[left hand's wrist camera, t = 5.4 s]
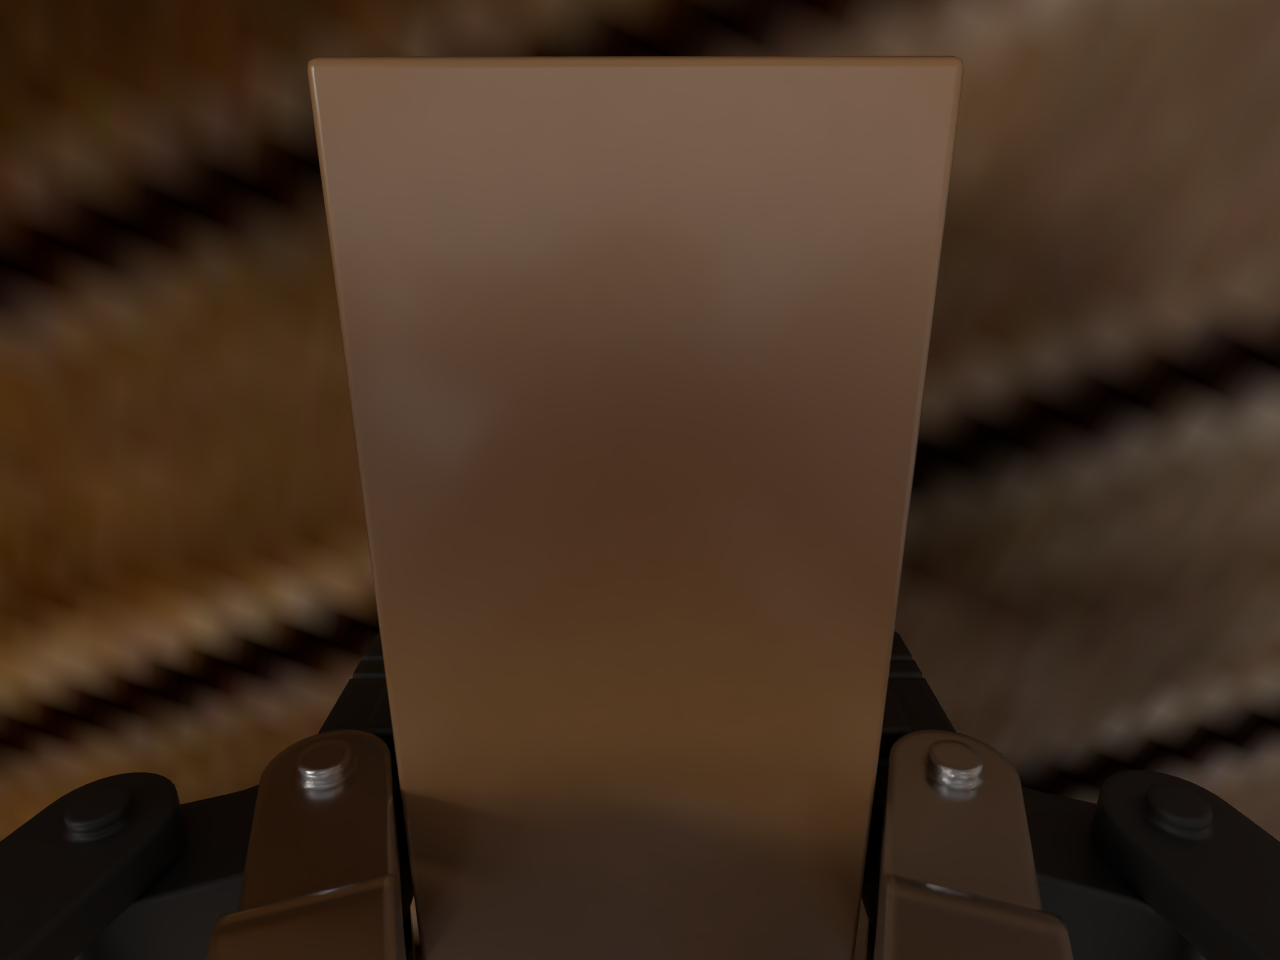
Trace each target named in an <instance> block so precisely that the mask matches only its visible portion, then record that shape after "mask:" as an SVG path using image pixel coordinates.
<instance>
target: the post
mask: <svg viewBox="0 0 1280 960" xmlns="http://www.w3.org/2000/svg"><path fill="white" fill-rule="evenodd" d="M307 71H308V79H309V87H310V95H311V102H312V110H313V118H314V125H315V133H316V141H317V149H318V156H319V164H320V172H321V180H322V187H323V195H324V203H325V211H326V218H327V226H328V234H329V241H330V249H331V257H332V265H333V272H334V280H335V288H336V296H337V303H338V311H339V319H340V326H341V334H342V342H343V350H344V357H345V365H346V373H347V381H348V388H349V396H350V404H351V412H352V419H353V427H354V435H355V442H356V450H357V458H358V466H359V473H360V481H361V489H362V497H363V504H364V512H365V520H366V528H367V535H368V543H369V551H370V558H371V566H372V574H373V582H374V589H375V597H376V605H377V613H378V620H379V628H380V636H381V643H382V651H383V659H384V667H385V674H386V682H387V690H388V698H389V705H390V713H391V721H392V729H393V736H394V744H395V752H396V759H397V767H398V775H399V783H400V790H401V798H402V806H403V814H404V821H405V829H406V837H407V844H408V852H409V860H410V868H411V875H412V883H413V891H414V899H415V906H416V914H417V922H418V930H419V937H420V945H421V953H422V960H854V952H855V944H856V936H857V928H858V920H859V912H860V904H861V896H862V887H863V879H864V871H865V863H866V855H867V847H868V839H869V831H870V823H871V815H872V807H873V799H874V790H875V782H876V774H877V766H878V758H879V750H880V742H881V734H882V726H883V718H884V710H885V702H886V694H887V685H888V677H889V669H890V661H891V653H892V645H893V637H894V629H895V621H896V613H897V605H898V597H899V588H900V580H901V572H902V564H903V556H904V548H905V540H906V532H907V524H908V516H909V508H910V500H911V491H912V483H913V475H914V467H915V459H916V451H917V443H918V435H919V427H920V419H921V411H922V403H923V394H924V386H925V378H926V370H927V362H928V354H929V346H930V338H931V330H932V322H933V314H934V306H935V298H936V289H937V281H938V273H939V265H940V257H941V249H942V241H943V233H944V225H945V217H946V209H947V201H948V192H949V184H950V176H951V168H952V160H953V152H954V144H955V136H956V128H957V120H958V112H959V104H960V95H961V87H962V79H963V71H964V68H963V62H962V60H961V59H958V58H956V57H954V56H597V57H316V58H314V59H312V60H310V61H309V63H308V69H307Z"/></svg>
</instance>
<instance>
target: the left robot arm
mask: <svg viewBox="0 0 1280 960" xmlns="http://www.w3.org/2000/svg"><path fill="white" fill-rule="evenodd" d="M413 896H414V891H413V883H412V875H411V868H410V860H409V852H408V844H407V837H406V829H405V821H404V814H403V806H402V798H401V790H400V783H399V775H398V767H397V759H396V752H395V744H394V736H393V729H392V721H391V713H390V705H389V698H388V690H387V682H386V674H385V667H384V659H383V651H382V643H381V636H380V633H379V634H377V635H376V636H375V638H374V640H373V641H372V643H371V645H370V646H369V648H368V650H367V651H366V653H365V655H364V657H363V661H361V662H360V663H359V665H358V667H357V668H356V670H355V672H354V673H353V679H350V680H349V682H348V684H347V685H346V687H345V689H344V690H343V692H342V694H341V695H340V697H339V699H338V701H337V702H336V704H335V706H334V707H333V709H332V711H331V712H330V714H329V716H328V717H327V719H326V721H325V723H324V724H323V726H322V728H321V729H320V731H319V733H318V734H317V735H314V736H311V737H308V738H305V739H303V740H301V741H299V742H297V743H295V744H293V745H291V746H289V747H288V748H286V749H285V750H283V751H282V752H281V753H279V754H278V755H277V756H276V757H275V758H274V759H273V760H272V761H271V762H270V763H269V764H268V766H267V767H266V768H265V770H264V772H263V773H262V776H261V779H260V782H259V785H257V786H254V787H251V788H249V789H246V790H242V791H239V792H235V793H231V794H226V795H222V796H217V797H213V798H208V799H204V800H199V801H195V802H190V803H186V804H181V805H180V802H179V798H178V794H177V790H176V788H175V785H174V784H173V783H172V782H171V781H170V780H169V779H167V778H165V777H164V776H161V775H158V774H153V773H144V772H135V773H126V774H120V775H115V776H110V777H107V778H103V779H100V780H97V781H94V782H92V783H89V784H86V785H84V786H82V787H80V788H78V789H75V790H73V791H71V792H70V793H68V794H66V795H64V796H63V797H61V798H59V799H58V800H56V801H55V802H53V803H52V804H50V805H49V806H48V807H46V808H45V809H44V810H42V811H41V812H40V813H38V814H37V815H36V816H34V817H33V818H32V819H30V820H29V821H28V822H26V823H25V824H24V825H22V826H21V827H19V828H18V829H17V830H15V831H14V832H13V833H11V834H10V835H9V836H7V837H6V838H5V839H3V840H2V841H1V842H0V960H416V958H415V944H414V932H413V924H412V917H411V909H410V905H411V902H412V899H413ZM861 897H862V900H863V903H864V907H865V910H866V913H867V916H868V924H867V932H866V943H865V957H864V960H1280V842H1279V841H1278V840H1277V839H1275V838H1274V837H1273V836H1271V835H1270V834H1269V833H1267V832H1266V831H1265V830H1263V829H1262V828H1261V827H1259V826H1258V825H1256V824H1255V823H1254V822H1252V821H1251V820H1250V819H1248V818H1247V817H1246V816H1244V815H1243V814H1242V813H1240V812H1239V811H1238V810H1236V809H1235V808H1234V807H1232V806H1231V805H1230V804H1228V803H1227V802H1225V801H1224V800H1222V799H1221V798H1220V797H1218V796H1217V795H1215V794H1213V793H1211V792H1210V791H1208V790H1206V789H1204V788H1202V787H1200V786H1198V785H1196V784H1194V783H1191V782H1189V781H1186V780H1183V779H1181V778H1178V777H1175V776H1171V775H1168V774H1164V773H1159V772H1154V771H1145V770H1129V771H1122V772H1119V773H1116V774H1113V775H1111V776H1110V777H1108V778H1107V779H1106V780H1105V781H1104V782H1103V783H1102V786H1101V789H1100V792H1099V796H1098V800H1097V804H1094V803H1089V802H1085V801H1080V800H1076V799H1071V798H1067V797H1062V796H1058V795H1053V794H1048V793H1044V792H1040V791H1036V790H1032V789H1029V788H1026V787H1023V786H1021V782H1020V779H1019V776H1018V774H1017V772H1016V770H1015V768H1014V767H1013V766H1012V764H1011V763H1010V762H1009V761H1008V760H1007V759H1006V758H1005V757H1004V756H1003V755H1002V754H1001V753H999V752H998V751H996V750H995V749H994V748H992V747H991V746H989V745H987V744H985V743H983V742H981V741H979V740H977V739H975V738H972V737H969V736H966V735H963V734H960V733H956V731H955V729H954V728H953V726H952V724H951V723H950V721H949V719H948V717H947V716H946V714H945V712H944V711H943V709H942V707H941V705H940V704H939V702H938V700H937V698H936V697H935V695H934V693H933V692H932V690H931V688H930V686H929V685H928V683H927V681H926V680H925V678H922V673H921V671H920V669H919V668H918V666H917V664H916V662H915V661H914V660H912V656H911V654H910V652H909V650H908V649H907V647H906V645H905V643H904V642H903V640H902V638H901V637H900V635H899V634H898V633H896V632H895V631H894V637H893V645H892V653H891V661H890V669H889V677H888V685H887V694H886V702H885V710H884V718H883V726H882V734H881V742H880V750H879V758H878V766H877V774H876V782H875V790H874V799H873V807H872V815H871V823H870V831H869V839H868V847H867V855H866V863H865V871H864V879H863V887H862V896H861Z"/></svg>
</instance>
